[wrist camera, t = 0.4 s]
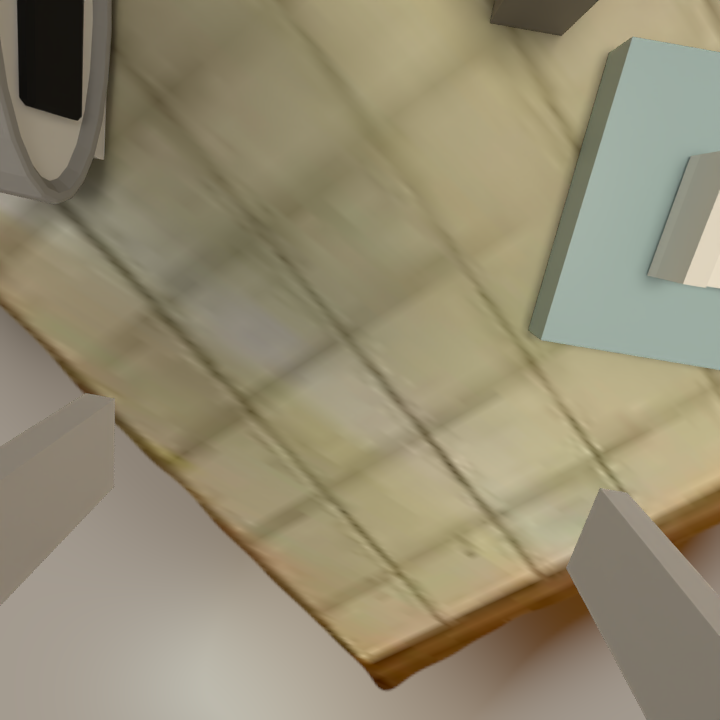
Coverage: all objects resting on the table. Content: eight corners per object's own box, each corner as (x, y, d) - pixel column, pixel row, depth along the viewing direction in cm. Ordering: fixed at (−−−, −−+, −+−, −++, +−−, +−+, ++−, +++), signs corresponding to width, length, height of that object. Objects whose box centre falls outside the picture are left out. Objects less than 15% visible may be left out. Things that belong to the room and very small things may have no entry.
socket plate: (609, 52, 31) (632, 36, 28) (889, 102, 31) (941, 91, 28) (528, 330, 37) (540, 339, 34) (762, 369, 38) (794, 382, 35)
